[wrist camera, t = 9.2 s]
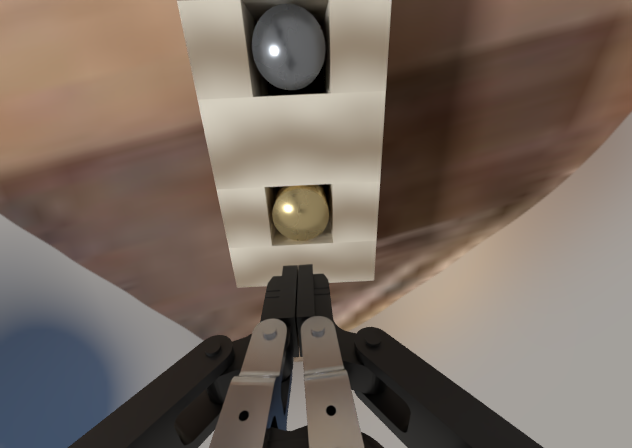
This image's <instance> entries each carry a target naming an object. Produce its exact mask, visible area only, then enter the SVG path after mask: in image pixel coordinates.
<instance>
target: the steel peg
mask: <svg viewBox="0 0 632 448" xmlns="http://www.w3.org/2000/svg"><path fill="white" fill-rule="evenodd" d="M252 52H253V57H254V61H255V64H256V66H257V68H258V70H259V72H260V73H261V74H262V76H263V77H264V78H265V79H266V80H267V81H268V82H269V83H271V84H272V85H274V86H276V87H278V88H281V89H285V90H300V89H303V88H305V87H307V86H309V85H310V84H311V83H312V82H313V81H314V79H315V78H316V77H317V75H318V74H319V72H320V70H321V68H322V65H323V62H324V58H325V40H324V35H323V32H322V29H321V27H320V25H319V23H318V22H317V20H316V19H315V18H314V16H313V15H312V14H311V13H310V12H308V11H307V10H306V9H304V8H302V7H300V6H298V5H294V4H280V5H276V6H274V7H272V8H270V9H269V10H267V11H266V12H265V13H264V14H263V15H262V16H261V18H260V19H259V21H258V22H257V24H256V26H255V29H254V32H253V37H252Z"/></svg>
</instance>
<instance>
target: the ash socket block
mask: <svg viewBox="0 0 632 448" xmlns="http://www.w3.org/2000/svg"><path fill="white" fill-rule="evenodd" d="M391 1H392V0H177V3H178V8H179V13H180V18H181V22H182V27H183V32H184V37H185V41H186V46H187V51H188V56H189V60H190V65H191V70H192V75H193V79H194V84H195V89H196V94H197V98H198V103H199V108H200V113H201V118H202V122H203V127H204V132H205V137H206V141H207V146H208V151H209V156H210V160H211V165H212V170H213V175H214V179H215V184H216V189H217V194H218V198H219V203H220V208H221V213H222V217H223V222H224V227H225V232H226V237H227V241H228V246H229V251H230V256H231V260H232V265H233V270H234V275H235V279H236V284H237V287H256V286H267V284H268V282H269V281H270V280H271V278H272V277H273V276H282V271H283V266H288V265H305V264H313V274H322V273H323V274H324V275H325V276H326V277H327V279H328V281H329V283H333V282H352V281H371V280H374V270H375V254H376V238H377V223H378V207H379V191H380V175H381V159H382V144H383V128H384V112H385V96H386V80H387V65H388V49H389V33H390V17H391ZM280 4H294V5H298V6H300V7H302V8H304V9H306V10H307V11H308V12H310V13H311V14H312V15H313V16H314V18H315V19H316V20H317V22H318V23H319V25H322V29H323V35H324V40H325V58H324V62H323V68H324V93H304V94H282V95H269V94H268V85H267V80H266V79H265V78H264V77H263V76H262V74H261V73H260V72H259V70H258V68H257V66H256V64H255V61H254V57H253V52H252V37H253V32H254V29H255V26H256V24H257V22H258V21H259V19H260V18H261V16H262V15H263V14H264V13H265V12H266V11H267V10H269V9H270V8H272V7H274V6H276V5H280ZM319 184H326V185H327V204H328V210H329V221H328V224H327V226H326V228H325V229H324V231H323V232H322V233H321V234H320V235H318V236H317V237H315V238H313V239H310V240H306V241H297V240H292V239H289V238H287V237H285V236H284V235H282V234H281V233H280V232H279V231H278V230H277V228H276V227H275V225H274V222H273V218H272V212H273V207H274V204H275V200H276V197H277V193H278V190H279V188H278V187H279V186H299V185H319Z"/></svg>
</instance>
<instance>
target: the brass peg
mask: <svg viewBox="0 0 632 448" xmlns="http://www.w3.org/2000/svg"><path fill="white" fill-rule="evenodd" d="M272 218H273V222H274V225H275V227H276V228H277V230H278V231H279V232H280V233H281V234H282V235H284V236H285V237H287V238H289V239H292V240H297V241H306V240H310V239H313V238H315V237H317V236H318V235H320V234H321V233H322V232H323V231H324V229H325V228H326V226H327V224H328V221H329V210H328V204H327V199H326V193H325V187H324V184H319V185H299V186H279V190H278V193H277V197H276V200H275V204H274V207H273V212H272Z"/></svg>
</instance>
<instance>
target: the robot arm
mask: <svg viewBox="0 0 632 448" xmlns="http://www.w3.org/2000/svg"><path fill="white" fill-rule="evenodd" d="M299 347H300V357H303V367H304V384H305V398H306V410H307V424H308V425H307V426H304V427H302V428H299V429H296V430H293V431H287V416H288V408H289V399H290V392H291V383H292V369H293V357H299ZM351 390H354V391H355V393H356V395H357V396H358V398H359V399H360V400H362V402H363V403H364V404H365V405H366V406H367V407H368V408H369V409H370V410H371V411H372V412H373V413H374V414H375V415H376V416H377V417H378V418H379V419H380V420H381V421H382V422H383V423H384V424H385V425H386V426H387V427H388V428H389V429H390V430H391V431H392V432H393V433H394V434H395V435H396V436H397V437H398V438H399V439H400V440H401V441H402V442H403V443H404V444H405V445H406V446H407V447H408V448H543V447H542V446H541V445H539V444H538V443H536V442H535V441H534V440H532V439H531V438H530V437H528V436H527V435H525V434H524V433H523V432H521V431H520V430H518V429H517V428H516V427H514V426H513V425H512V424H510V423H509V422H508V421H506V420H505V419H503V418H502V417H501V416H499V415H498V414H497V413H495V412H494V411H493V410H491V409H490V408H488V407H487V406H486V405H484V404H483V403H482V402H480V401H479V400H477V399H476V398H474V397H473V396H472V395H471V394H469V393H468V392H467V391H465V390H463V389H462V388H461V387H460V386H458V385H457V384H455V383H454V382H453V381H451V380H450V379H449V378H447V377H446V376H445V375H443V374H442V373H440V372H439V371H437V370H436V369H435V368H434V367H432V366H431V365H429V364H428V363H427V362H425V361H424V360H423V359H421V358H420V357H418V356H417V355H416V354H414V353H413V352H411V351H410V350H409V349H408V348H406V347H405V346H403V345H402V344H401V343H399V342H398V341H396V340H395V339H394V338H392V337H391V336H390V335H388V334H387V333H386V332H384V331H383V330H381V329H379V328H374V327H366V328H363V329H361V330H359V331H358V332H357V334H356V333H351V332H347V331H344V330H342V329H341V328H339V327H338V326H337V325H336V324H335V322H334V320H333V315H332V307H331V298H330V290H329V281H328V279H327V277H326V276H325V275H324V274H323V273H322V274H313V264H305V265H288V266H283V271H282V276H273V277H272V278H271V280H270V281H269V282H268V284H267V289H266V295H265V300H264V305H263V310H262V315H261V321H260V323H259V324H258V325H257V326H256V327H255V328H254V330H253V333H252V334H250V335H249V336H247V337H245V338H242V339H239V340H236V341H233V342H232V341H231V340H230V338H228V337H227V336H223V335H216V336H212V337H210V338H208V339H206V340H204V341H203V342H202V343H200V344H199V345H198V346H197V347H195V348H194V349H193V350H192V351H190V352H189V353H188V354H186V355H185V356H184V357H183V358H181V359H180V360H179V361H177V362H176V363H175V364H174V365H172V366H171V367H170V368H169V369H167V370H166V371H165V372H163V373H162V374H161V375H160V376H158V377H157V378H156V379H155V380H153V381H152V382H151V383H149V384H148V385H147V386H146V387H144V388H143V389H142V390H141V391H139V392H138V393H137V394H135V395H134V396H133V397H132V398H131V399H129V400H128V401H127V402H125V403H124V404H123V405H121V406H120V407H119V408H118V409H116V410H115V411H114V412H113V413H111V414H110V415H109V416H107V417H106V418H105V419H104V420H102V421H101V422H100V423H99V424H97V425H96V426H95V427H93V428H92V429H91V430H90V431H88V432H87V433H86V434H85V435H83V436H82V437H81V438H80V439H78V440H77V441H76V442H75V443H73V444H72V445H71V446H69V447H68V448H198V447H199V446H200V445H201V444H202V443H203V442H204V441H205V439H206V438H207V437H208V436H209V435H210V434H211V433H212V432H213V431H214V430H215V431H214V434H213V437H212V440H211V443H210V446H209V448H384V447H382V446H381V445H380V444H379V443H378V442H377V441H376V440H374V439H373V438H371V437H370V436H368V435H366V434H365V433H362V432H361V430H360V426H359V422H358V418H357V413H356V408H355V404H354V399H353V395H352V391H351Z"/></svg>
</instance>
